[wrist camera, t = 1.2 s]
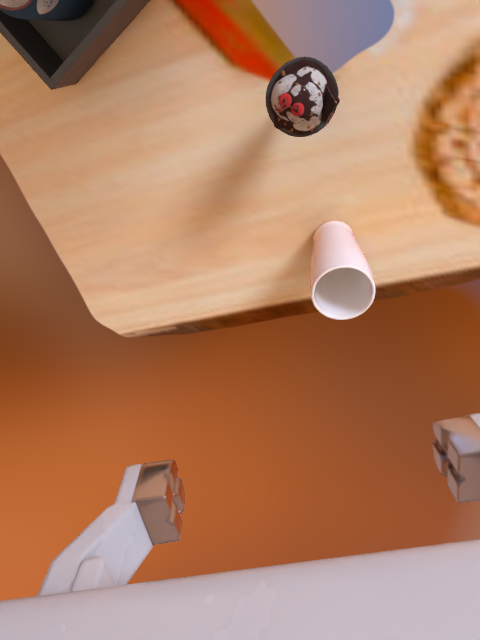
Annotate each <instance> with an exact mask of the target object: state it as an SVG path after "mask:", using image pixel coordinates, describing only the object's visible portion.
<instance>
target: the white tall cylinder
mask: <svg viewBox="0 0 480 640" xmlns="http://www.w3.org/2000/svg"><path fill="white" fill-rule="evenodd" d="M310 291H311V298H312V302H313V304H314V306H315V307H316V309H317V310H318V311H319V312H320V313H322V314H323V315H325V316H326V317H329V318H332V319H337V320H346V319H351V318H354V317H357V316H359V315H360V314H362V313H364V312H365V311H366V310H367V309H368V308H369V307H370V305H371V304H372V302H373V300H374V297H375V283H374V278H373V275H372V271H371V268H370V266H369V263H368V261H367V259H366V257H365V256H364V254H363V252H362V250H361V248H360V247H359V245H358V243H357V241H356V239H355V237H354V234H353V231H352V230H351V228H350V227H349V226H348V225H347V224H345V223H343V222H341V221H329V222H326V223H324V224H322V225H321V226H320V227H319V228H318V229H317V230H316V232H315V234H314V237H313V251H312V259H311V267H310Z"/></svg>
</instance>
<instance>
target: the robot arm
mask: <svg viewBox="0 0 480 640" xmlns="http://www.w3.org/2000/svg"><path fill="white" fill-rule="evenodd" d="M432 429H433V430H432V431H433V433H434V435H435V436H436V439H435V440H434V442H433V443H432V444H433V454H434V458H435V462H436V465H437V467H438V469H439V471H440V472H441V474H442V475H444V476H446V477H447V478H448V487H449V488H450V490H451V492H452V494H453V495H454V497H455V499H456V501H457V502H458V503H461V502H470V501H479V500H480V413H477V414H471V415H467V416H461V417H455V418H448V419H442V420H435V421H433V425H432ZM177 471H178V468H177V465H176V462H175V461H174V460H167V461H159V462H152V463H144V464H138V465H131V466H128V467H127V468H126V470H125V473H124V476H123V479H122V482H121V485H120V488H119V491H118V494H117V497H116V500H115V504H114V505H111V506H109V507H108V508H107V509H106V510H105V511H104V512H103V513H102V514H101V515H100V516H99V517H97V518H96V519H95V520H94V521H93V522H92V523H91V524H90V525H89V526H88V527H87V528H86V529H85V530H84V531H83V532H82V533H81V534H80V535H79V536H78V537H77V538H76V539H75V540H74V541H73V542H71V543H70V544H69V545H68V546H67V547H66V548H65V549H64V550H63V551H62V552H61V553H60V554H59V555H58V556H57V557H56V558H55V559H54V560H53V561H52V562H51V565H50V567H49V569H48V572H47V574H46V576H45V579H44V581H43V583H42V586H41V588H40V591H39V593H38V595H37V596H35V597H28V598H20V599H12V600H4V601H0V640H480V539H477V540H469V541H462V542H454V543H447V544H439V545H431V546H423V547H415V548H407V549H400V550H391V551H384V552H376V553H368V554H360V555H352V556H345V557H337V558H329V559H322V560H314V561H306V562H299V563H291V564H284V565H276V566H268V567H260V568H252V569H245V570H237V571H230V572H221V573H214V574H207V575H199V576H191V577H184V578H175V579H167V580H160V581H152V582H144V583H137V584H129V585H126V584H127V582H128V581H129V580H130V578H131V577H132V576H133V574H134V573H135V571H136V570H137V568H138V567H139V566H140V564H141V563H142V561H143V560H144V558H145V557H146V556H147V554H148V553H149V551H150V550H151V548H152V547H153V546H152V545H156V544H162V543H168V542H173V541H179V540H180V533H181V526H182V520H181V517H180V514H181V513H182V512H183V510H184V504H185V494H184V487H183V484H182V480H181V479H180V478H178V477H177Z"/></svg>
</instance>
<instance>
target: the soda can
mask: <svg viewBox="0 0 480 640" xmlns="http://www.w3.org/2000/svg"><path fill="white" fill-rule="evenodd" d="M91 1H92V0H0V10H1V11H3V12H4V13H6V14H8V15H10V16H12V17H15V18H18V19H30V20H50V21H73V20H76V19H78V18H80V17H81V16H82V15H84V14H85V12H86V11H87V10H88V8H89V6H90V4H91Z"/></svg>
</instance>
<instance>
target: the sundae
mask: <svg viewBox="0 0 480 640" xmlns="http://www.w3.org/2000/svg"><path fill="white" fill-rule="evenodd" d="M339 101H340V100H339V98H338V87H337V83H336V80H335V78H334V76H333V74H332V72H331V71H330V70H329V69H328V67H327V66H326V65H324V64H323V63H322V62H320V61H318V60H317V59H314V58H310V57H299V58H296V59H293V60H291V61H289V62H287V63H285V64H284V65H283V66H282V67H280V68H279V69H278V71H277V72H276V73H275V74H274V75H273V77H272V79H271V80H270V83H269V85H268V88H267V92H266V107H267V110H268V113H269V116H270V119H271V120H272V122H273V123H274V126H275V127H276V128H277V129H279V130H281V131H282V132H284V133H286V134H288V135H290V136H295V137H306V136H309V135H312V134H314V133H317V132H318V131H320V130H321V129H322V128H324V127H325V126H326V125H327V124H328V123H329V121H330V120H331V118H332V116H333V114H334V113H335V110H336V107H337V105H338V103H339Z"/></svg>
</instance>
